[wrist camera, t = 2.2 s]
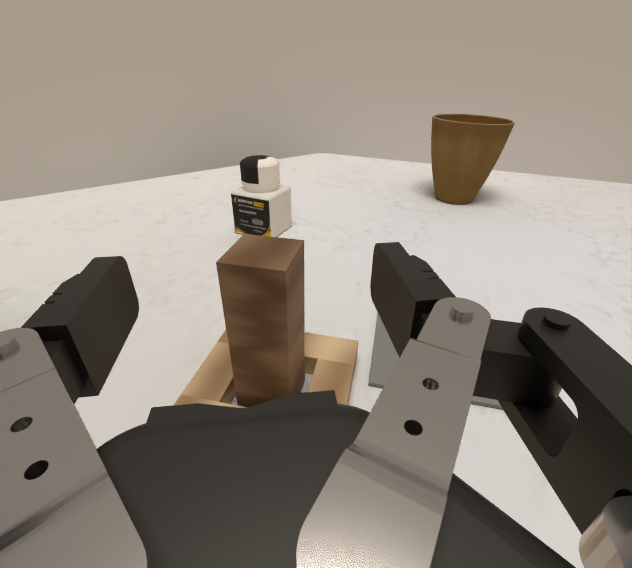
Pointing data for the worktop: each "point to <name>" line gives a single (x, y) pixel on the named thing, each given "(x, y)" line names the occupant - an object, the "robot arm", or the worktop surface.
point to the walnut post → (264, 316)
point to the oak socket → (320, 359)
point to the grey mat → (388, 358)
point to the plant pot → (465, 153)
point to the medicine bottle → (261, 198)
